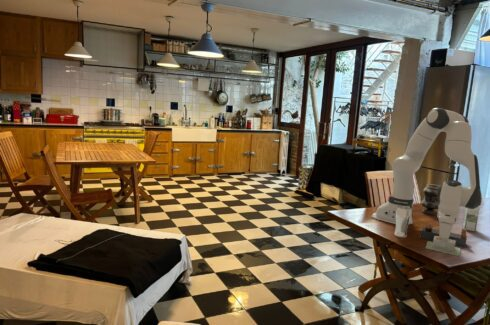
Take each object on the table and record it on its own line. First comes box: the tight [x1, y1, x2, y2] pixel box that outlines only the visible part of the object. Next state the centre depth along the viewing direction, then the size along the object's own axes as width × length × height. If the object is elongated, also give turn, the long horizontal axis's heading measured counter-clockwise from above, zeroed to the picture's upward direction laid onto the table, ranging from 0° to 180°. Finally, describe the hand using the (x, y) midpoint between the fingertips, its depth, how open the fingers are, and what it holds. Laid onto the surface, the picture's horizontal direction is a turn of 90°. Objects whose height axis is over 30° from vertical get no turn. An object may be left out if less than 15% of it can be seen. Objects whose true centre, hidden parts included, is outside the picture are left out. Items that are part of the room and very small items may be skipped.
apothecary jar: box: [420, 183, 441, 216], centre depth 233 cm, size 12×12×18 cm
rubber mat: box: [425, 240, 461, 257], centre depth 172 cm, size 14×10×1 cm
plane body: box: [419, 222, 468, 248], centre depth 183 cm, size 20×7×8 cm, turn 57°
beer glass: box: [393, 206, 411, 239], centre depth 186 cm, size 7×7×15 cm
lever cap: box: [432, 236, 456, 252], centre depth 171 cm, size 9×5×5 cm, turn 57°
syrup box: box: [462, 206, 481, 232], centre depth 202 cm, size 6×6×14 cm
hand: (443, 242), depth 172 cm, fingers open, 8 cm apart
